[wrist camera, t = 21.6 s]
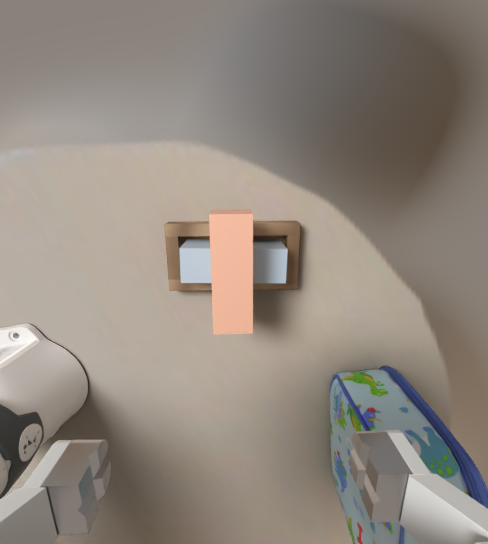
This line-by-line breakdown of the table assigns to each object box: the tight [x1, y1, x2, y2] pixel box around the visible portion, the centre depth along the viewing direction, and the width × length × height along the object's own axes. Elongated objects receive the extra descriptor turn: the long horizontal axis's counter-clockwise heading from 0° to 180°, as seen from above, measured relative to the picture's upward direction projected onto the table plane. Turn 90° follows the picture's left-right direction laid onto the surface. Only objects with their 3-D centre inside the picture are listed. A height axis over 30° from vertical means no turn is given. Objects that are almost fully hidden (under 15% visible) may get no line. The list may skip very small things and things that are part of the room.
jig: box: [164, 221, 300, 291], centre depth 39 cm, size 16×8×3 cm, turn 90°
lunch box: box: [330, 366, 488, 544], centre depth 38 cm, size 26×11×21 cm, turn 7°
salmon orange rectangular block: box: [209, 210, 253, 334], centre depth 31 cm, size 12×4×5 cm, turn 0°
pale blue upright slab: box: [179, 239, 288, 283], centre depth 36 cm, size 12×4×6 cm, turn 89°
